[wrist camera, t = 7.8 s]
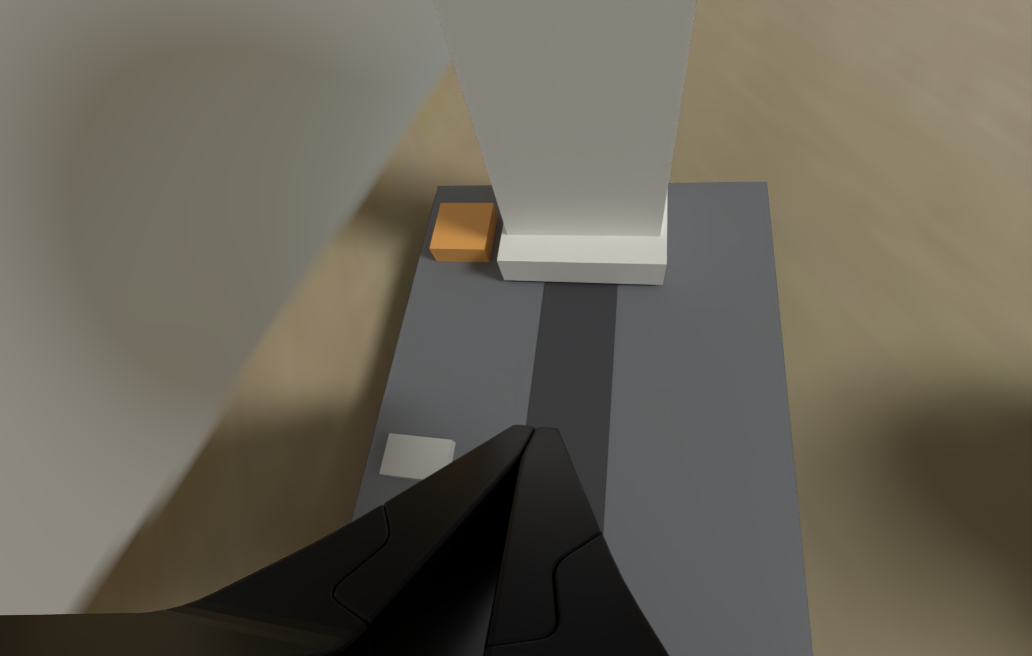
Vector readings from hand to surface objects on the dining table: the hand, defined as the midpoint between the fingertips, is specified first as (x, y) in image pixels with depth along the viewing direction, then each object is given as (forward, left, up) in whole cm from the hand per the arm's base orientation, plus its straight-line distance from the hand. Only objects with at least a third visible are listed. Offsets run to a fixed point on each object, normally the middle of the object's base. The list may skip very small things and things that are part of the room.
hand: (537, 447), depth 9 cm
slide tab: (+7, +4, -5) cm, 10 cm away
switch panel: (+2, +1, -7) cm, 7 cm away
